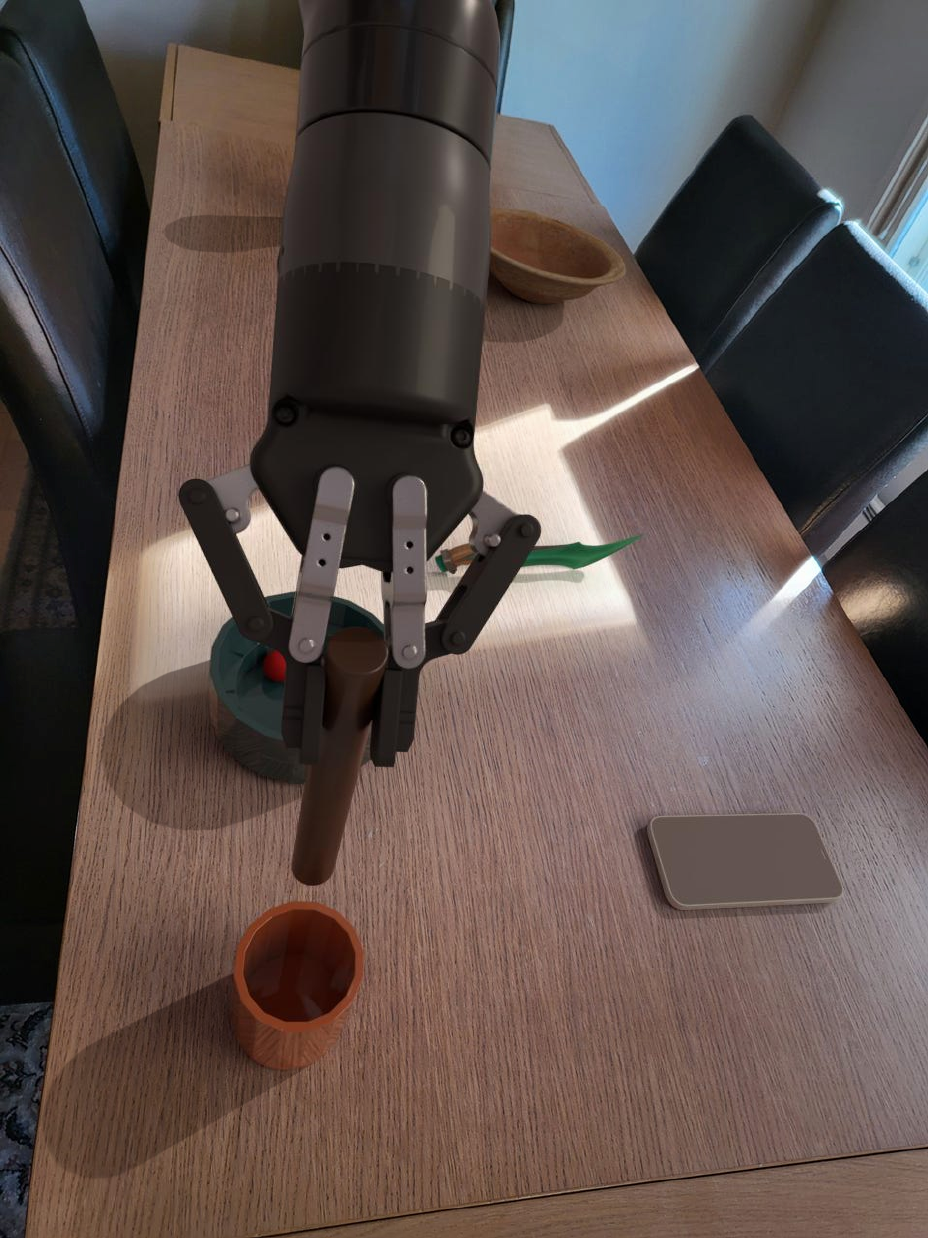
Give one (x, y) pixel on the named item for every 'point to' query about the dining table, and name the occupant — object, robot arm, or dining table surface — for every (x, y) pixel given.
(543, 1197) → the dining table surface
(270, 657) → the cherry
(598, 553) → the knife
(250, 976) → the utensil cup
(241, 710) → the mixing bowl
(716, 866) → the smartphone
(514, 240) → the bowl
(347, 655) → the stirring stick
